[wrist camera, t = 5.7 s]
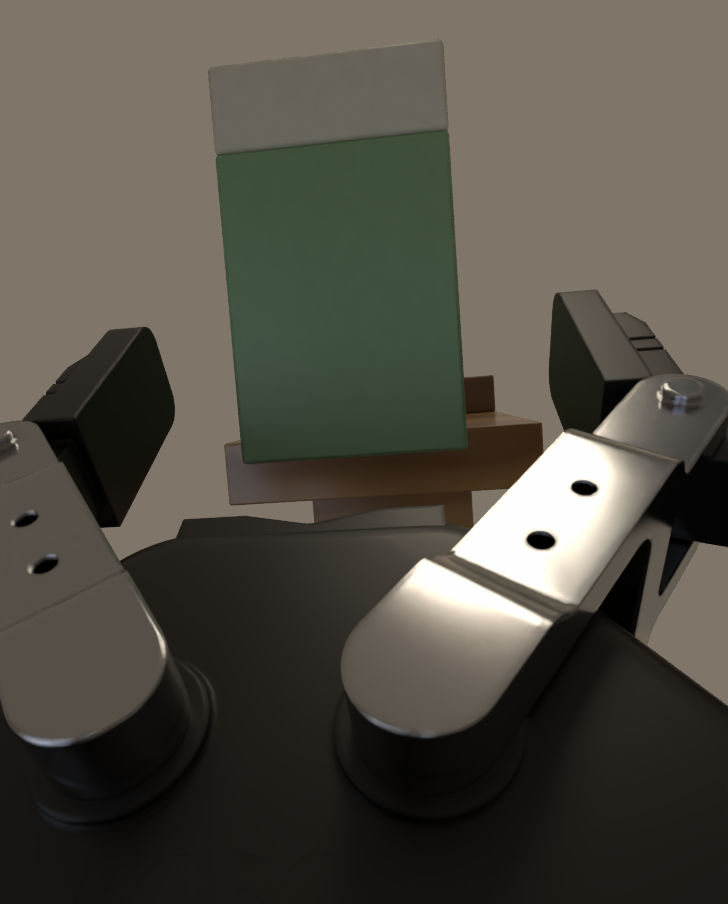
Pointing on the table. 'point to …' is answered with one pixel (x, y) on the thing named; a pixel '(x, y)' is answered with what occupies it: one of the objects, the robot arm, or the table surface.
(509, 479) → the plant stand
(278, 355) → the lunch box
